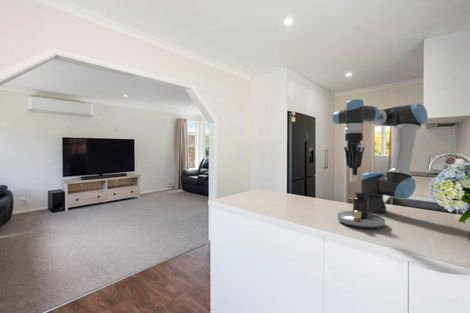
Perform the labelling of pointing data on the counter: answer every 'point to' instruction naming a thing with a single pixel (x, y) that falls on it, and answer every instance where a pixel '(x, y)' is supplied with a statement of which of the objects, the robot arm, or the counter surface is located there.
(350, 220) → the turntable
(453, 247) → the counter surface
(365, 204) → the supplement bottle
